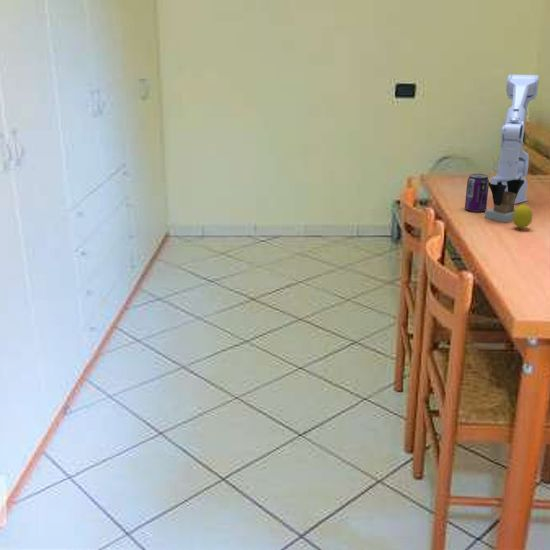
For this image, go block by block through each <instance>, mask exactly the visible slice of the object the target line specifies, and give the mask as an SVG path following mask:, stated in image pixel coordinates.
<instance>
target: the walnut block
mask: <svg viewBox="0 0 550 550" xmlns="http://www.w3.org/2000/svg"><path fill="white" fill-rule="evenodd" d="M515 197H516V193H512V192H507V191H504V193H503V197H502V202H501V205H500V206H498V205H494V204H493V208H494V211H497V212H501V213H505V214H506V213H509V212H513V211H514V210H515V205H516V204H515Z"/></svg>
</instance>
